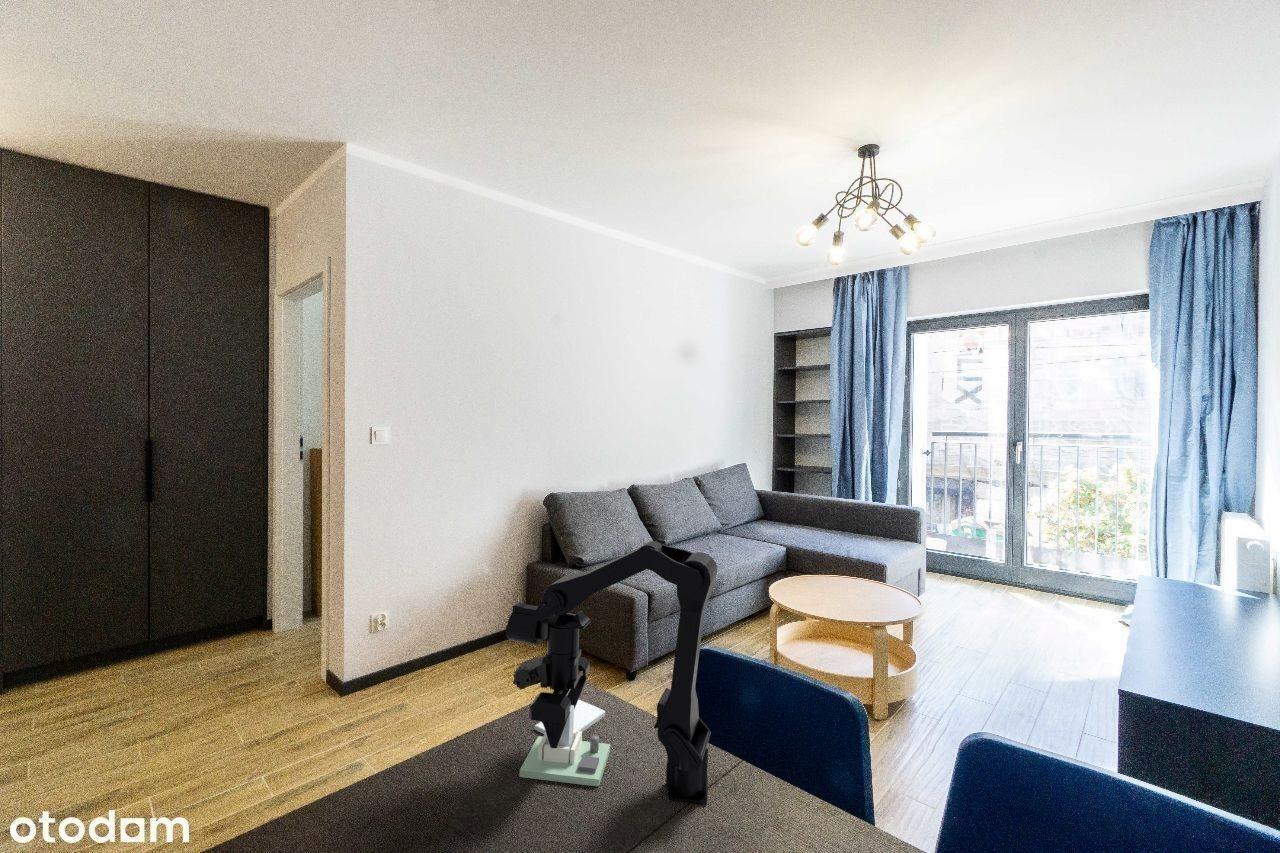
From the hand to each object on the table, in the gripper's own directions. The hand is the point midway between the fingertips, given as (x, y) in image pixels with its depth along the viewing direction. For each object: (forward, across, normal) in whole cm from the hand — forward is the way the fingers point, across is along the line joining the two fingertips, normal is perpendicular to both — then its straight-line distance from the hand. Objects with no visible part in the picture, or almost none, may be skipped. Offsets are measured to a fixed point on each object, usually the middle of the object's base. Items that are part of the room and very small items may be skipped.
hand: (561, 732), depth 98 cm
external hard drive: (+6, -12, -1) cm, 13 cm away
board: (+5, +1, +2) cm, 5 cm away
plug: (+4, 0, 0) cm, 4 cm away
